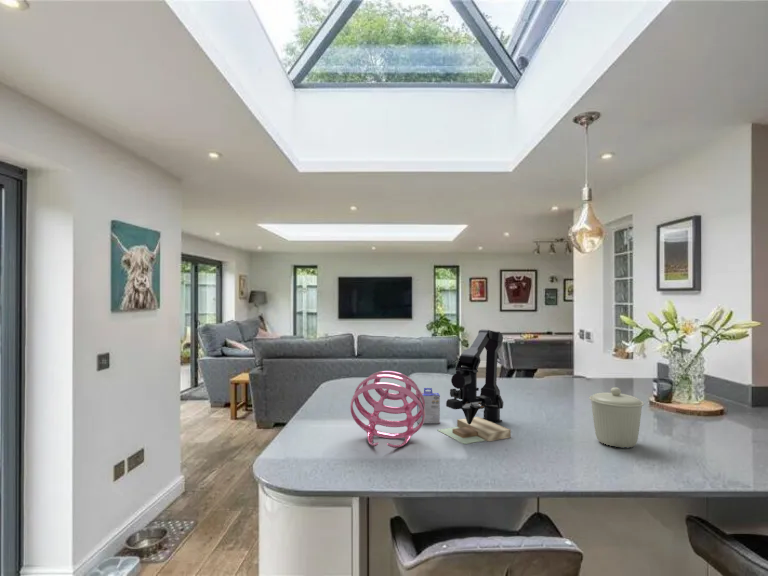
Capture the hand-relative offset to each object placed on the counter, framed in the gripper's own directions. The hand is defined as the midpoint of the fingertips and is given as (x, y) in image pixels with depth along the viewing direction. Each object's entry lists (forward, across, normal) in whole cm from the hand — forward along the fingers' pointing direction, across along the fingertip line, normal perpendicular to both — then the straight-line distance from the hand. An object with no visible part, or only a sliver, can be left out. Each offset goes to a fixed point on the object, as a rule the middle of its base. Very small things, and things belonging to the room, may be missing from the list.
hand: (469, 423), depth 168 cm
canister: (+4, -44, +32) cm, 54 cm away
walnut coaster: (+4, +2, 0) cm, 4 cm away
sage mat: (+4, +4, 0) cm, 6 cm away
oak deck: (+4, -7, 0) cm, 8 cm away
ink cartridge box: (+4, +6, -21) cm, 22 cm away
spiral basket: (+4, +33, -5) cm, 34 cm away
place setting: (+5, -26, -34) cm, 43 cm away
